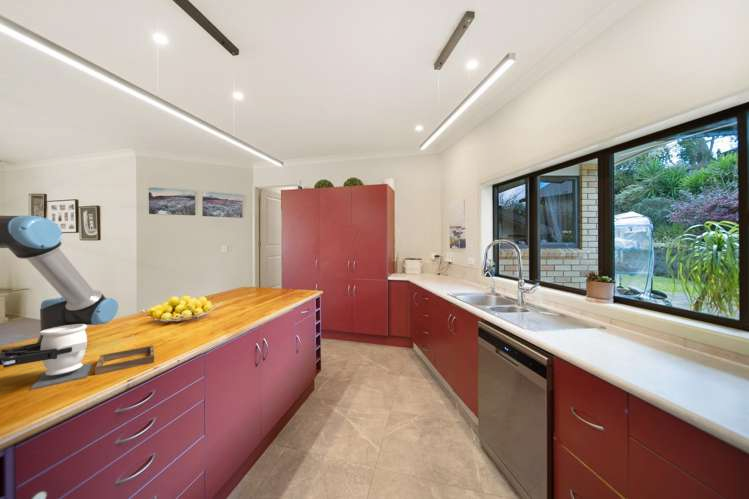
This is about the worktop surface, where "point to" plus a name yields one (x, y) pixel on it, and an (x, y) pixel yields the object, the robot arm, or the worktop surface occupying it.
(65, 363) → the jar
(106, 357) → the brown rectangular frame
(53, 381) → the mat
